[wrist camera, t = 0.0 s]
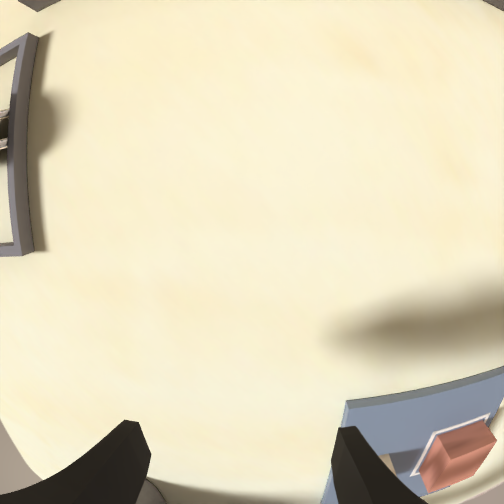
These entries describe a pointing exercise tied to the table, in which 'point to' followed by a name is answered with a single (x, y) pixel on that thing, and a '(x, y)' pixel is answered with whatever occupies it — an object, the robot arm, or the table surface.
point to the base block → (456, 455)
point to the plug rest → (19, 144)
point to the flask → (149, 495)
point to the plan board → (420, 422)
